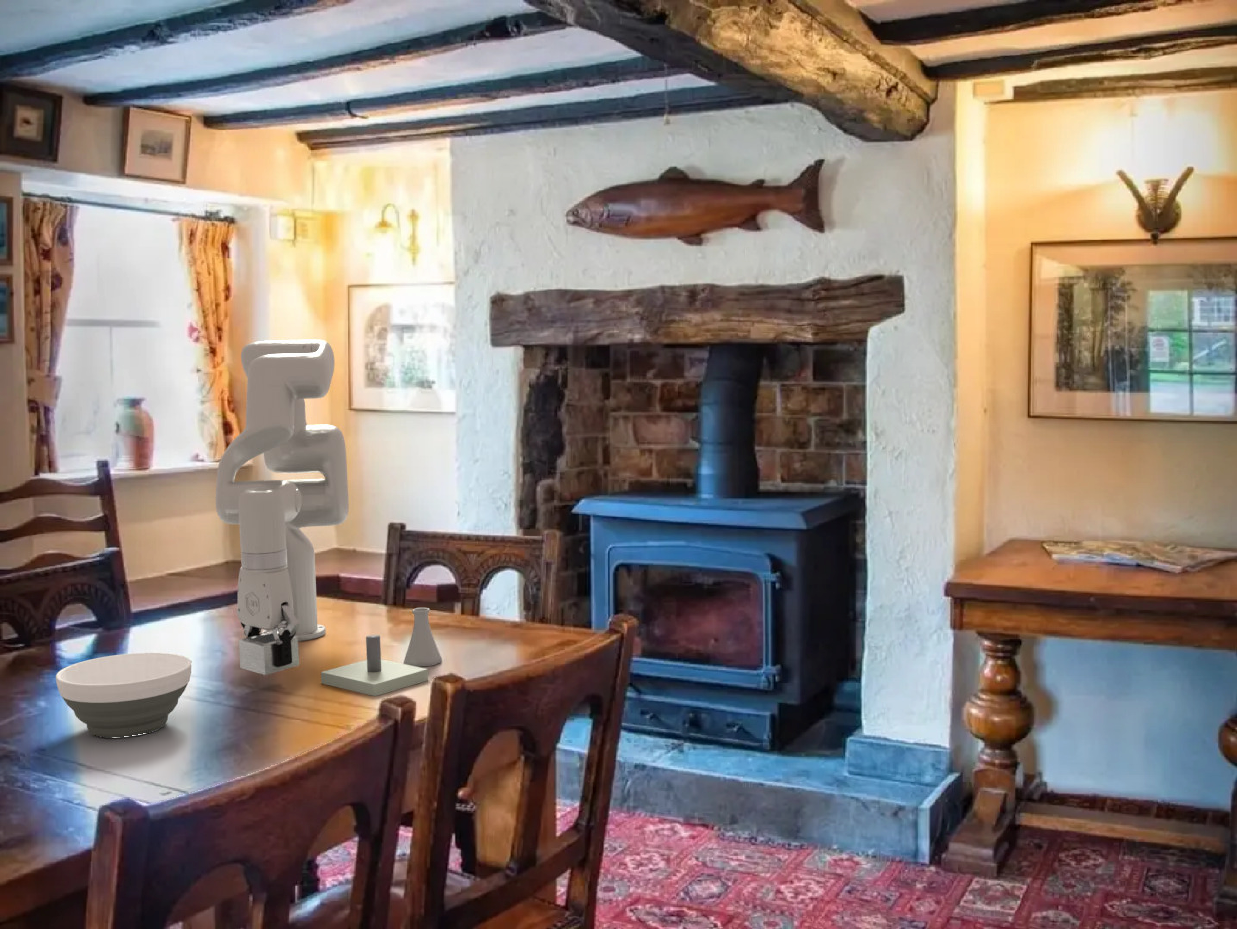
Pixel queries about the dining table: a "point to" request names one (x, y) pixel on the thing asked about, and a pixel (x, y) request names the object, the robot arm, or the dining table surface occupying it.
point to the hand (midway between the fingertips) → (269, 660)
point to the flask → (422, 642)
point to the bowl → (124, 691)
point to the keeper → (374, 673)
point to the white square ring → (263, 653)
